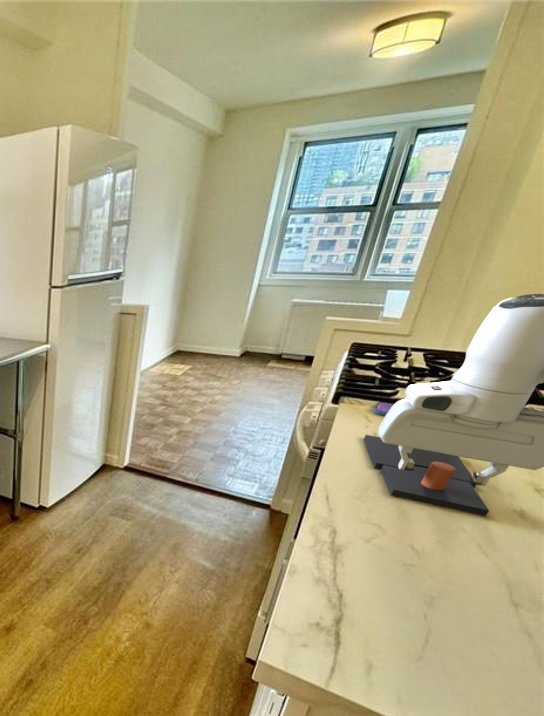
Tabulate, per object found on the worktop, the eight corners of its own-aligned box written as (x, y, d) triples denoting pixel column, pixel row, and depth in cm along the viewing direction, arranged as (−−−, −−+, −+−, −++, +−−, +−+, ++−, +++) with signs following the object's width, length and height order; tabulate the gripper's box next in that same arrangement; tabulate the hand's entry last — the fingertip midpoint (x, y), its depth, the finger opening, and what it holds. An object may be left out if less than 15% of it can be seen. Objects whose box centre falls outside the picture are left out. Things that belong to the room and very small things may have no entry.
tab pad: (462, 481, 87) (477, 456, 85) (485, 516, 78) (503, 489, 75) (378, 464, 93) (390, 440, 90) (390, 495, 83) (404, 469, 81)
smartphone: (377, 405, 119) (378, 401, 118) (461, 422, 109) (463, 418, 109) (372, 413, 114) (374, 409, 114) (459, 432, 105) (462, 428, 104)
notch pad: (451, 456, 96) (454, 450, 95) (474, 488, 85) (477, 483, 84) (363, 439, 102) (365, 434, 101) (374, 468, 91) (376, 462, 91)
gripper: (567, 407, 74) (517, 484, 80) (395, 383, 83) (363, 454, 90) (587, 422, 69) (532, 502, 75) (403, 395, 78) (368, 468, 85)
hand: (439, 476), depth 83 cm, fingers open, 8 cm apart
